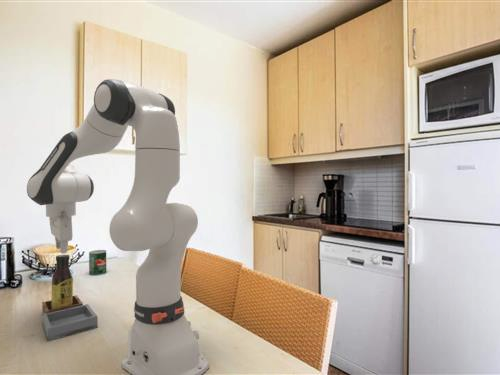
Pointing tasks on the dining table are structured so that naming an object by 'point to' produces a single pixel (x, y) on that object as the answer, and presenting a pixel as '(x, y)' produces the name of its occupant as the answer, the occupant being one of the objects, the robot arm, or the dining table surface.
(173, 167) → the robot arm
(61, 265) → the sauce bottle
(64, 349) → the dining table surface
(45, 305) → the walnut collar
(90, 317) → the grey tray
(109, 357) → the dining table surface
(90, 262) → the canned tomato
